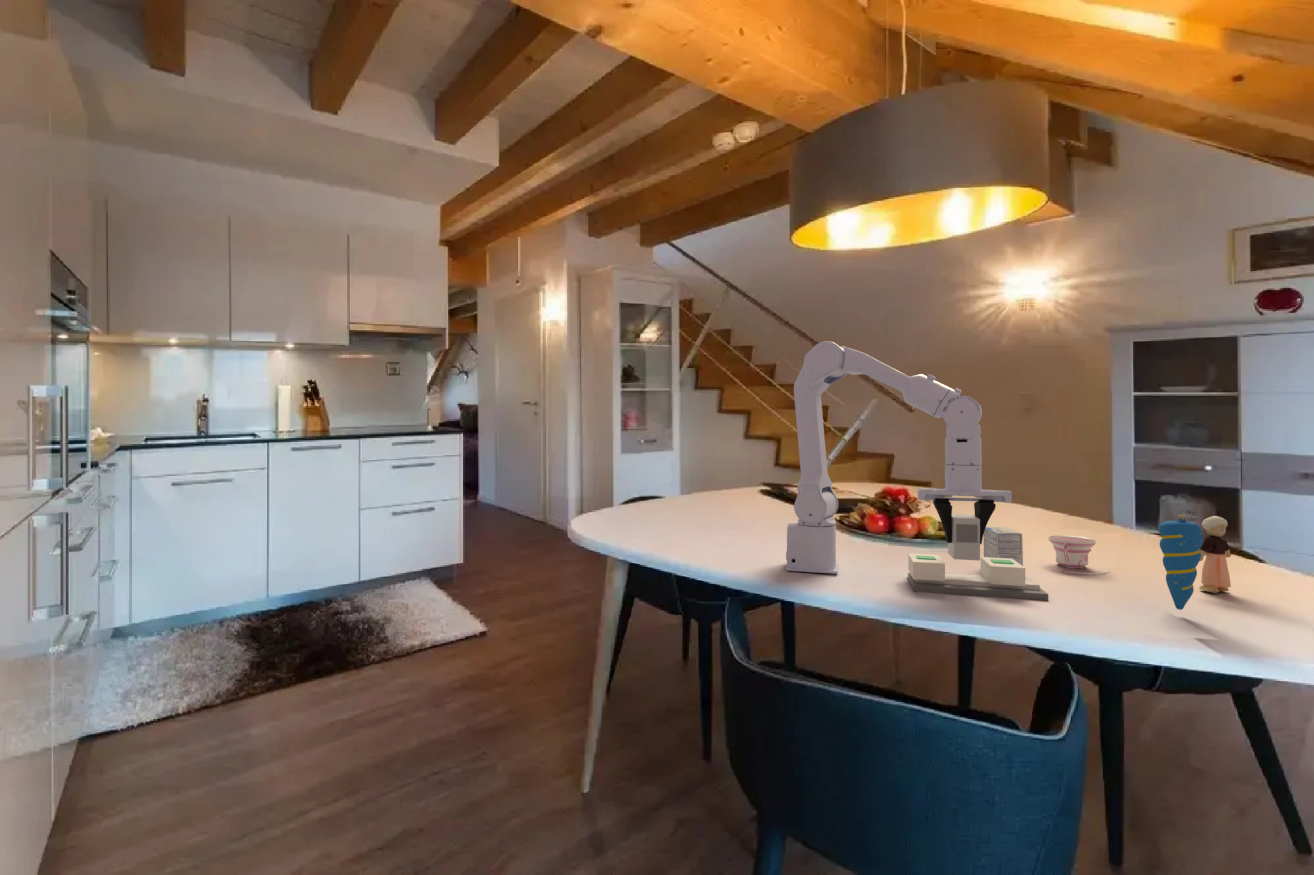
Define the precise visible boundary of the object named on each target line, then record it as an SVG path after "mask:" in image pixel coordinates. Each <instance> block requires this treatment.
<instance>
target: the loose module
mask: <svg viewBox="0 0 1314 875" xmlns="http://www.w3.org/2000/svg"><path fill="white" fill-rule="evenodd" d="M951 528H952V543H947V554H948V555H949V556H951V558H952V559H953V560H958V561H959V560H962V561H980V562H981V544H980V519H979V518H977V517H976V516H975V514H963V513H962V514H961V513H959V514H957V513H952V518H951Z"/></svg>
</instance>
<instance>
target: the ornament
mask: <svg viewBox="0 0 1314 875" xmlns="http://www.w3.org/2000/svg"><path fill="white" fill-rule="evenodd" d="M1182 512H1183V515H1181V514H1179V515H1177V518H1178V520H1166V521H1163V522H1161V523H1160V524H1159V526H1158V532H1159V535H1160V537H1161V538H1160V541H1159V548H1160V550H1161V553H1162V554H1163V557H1162V565H1163V567H1164V569H1165V571H1166V574H1165V582H1166V585H1167V587H1168V590H1169V593H1170V595H1171V598H1172V601H1173V605H1174V606H1175V608H1176V609H1177V610H1179V611H1182V610H1184V608H1185V606H1186V604H1187V603H1188V602H1189V601H1190V599H1191V597H1193V596H1192V595H1193V594H1194V583H1195V581H1196V577H1197V576H1198V570H1197V566H1198V564H1199V563H1200V562H1201V561H1200V558H1201V553H1200V548H1201V546H1202V544H1203V540H1204V539H1205V537H1204V534H1203V530H1202V528H1201V527H1200V525H1199V524H1198V523H1197V522H1192V521H1187V515H1185V514H1186V513H1185V511H1183V510H1182Z"/></svg>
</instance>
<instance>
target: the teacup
mask: <svg viewBox="0 0 1314 875" xmlns="http://www.w3.org/2000/svg"><path fill="white" fill-rule="evenodd" d="M1048 541H1049V542H1050V543H1051V544H1052V545H1053V546H1052V548H1053V550H1054V551H1055V562H1056V563H1058V565H1060V566H1061V567H1064V568H1068V569H1074V568H1081V569H1083V568H1084V567H1085V566H1086V567H1087V566H1088V565H1089V554H1090V552H1092V549H1091V548H1092V547H1094V546H1095V545H1096V543H1097V542H1096V541H1097V540H1096V539H1094V538H1091V537H1086V536H1078V535H1066V534H1065V535H1062V534H1059V535H1057V534H1056V535H1050V536H1048ZM1103 568H1104V569H1105V568H1107V567H1105V566H1103ZM1048 569H1049V570H1051V571H1052V570H1053V571H1058V572H1062V573H1066V572H1068V574H1074V573H1076V574H1075V575H1084V574H1085V576H1087V575H1105V574H1109V573H1111V570H1110V569H1109V568H1108V570H1106V571H1105V573H1104V572H1076V571H1070V570H1069V571H1068V570H1067V571H1066V570H1060V569H1055V568H1049V567H1048ZM1086 574H1087V575H1086Z"/></svg>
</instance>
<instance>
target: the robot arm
mask: <svg viewBox="0 0 1314 875" xmlns="http://www.w3.org/2000/svg"><path fill="white" fill-rule="evenodd" d="M803 360H804V361H803V365H802V366H801V369H800V371H799V373H798V375H797V377H796V380H795V382H794V385H793V397H794V408H795V419H796V430H797V433H796V434H797V443H798V444H797V445H798V454H799V456H798V458H799V465H800V467H799V468H800V477H799V481H798V484H797V495H796V499H795V501H794V513H795V515H796V517H797V518H798V519H797V522H796V523H795V522H792V523H788V524H787V527H786V528H787V529H786V551H785V557H786V558H785V560H786V571H787V572H788V571H789V572H803V573H820V574H838V573H839V563H837V558H836V557H837V545H836V544H837V542H836V540H837V525H836V522H837V521H836V520H835V518H834V516H835V514H836V513H837V512H838V509H839V500H838V497H837V495H836V494H835V492H834V490H833V483H832V480H831V478H830V476H829V473H828V464H827V463H828V461H827V452H826V451H827V450H826V442H825V441H826V440H825V438H826V437H825V430H824V428H825V427H824V418H823V405H822V394H823V393H824V392H825V391H827V389H829V387H830V386H831V385H832V384H834V383H835V382H836V381H838V380H841V379H842V378H844V377H846V376H847V375H848V374H849V375H851V376H858V375H859V376H860V375H866V376H868V377H869V378H872V379H874V380H876V381H878V382H880V383H882V384H885V385H887V386H888V387H891V388H893V389H895V390H897V391H900V392H901V394H902V398H903V401H904V403H906V404H908V405H910V406H912V407H913V408H916V409H918V410H920V411H922V412H924V413H925V414H928V415H930V416H932V417H934V418H936V419H939V418H943V420H944V423H945V424H946V426H945V427H946V428H945V430H946V433H945V434H946V437H945V438H944V488H917V500H918V501H932V504H933V506H934V508H935V510H936V512H937V515H938V516H939V520H940V522H941V525H942V527H943V532H944V536H945V537H944V538H945V542H946V543H947V544H948V543H952V528H951V518H952V514H953V505H951V504H952V503H951V502H956V501H957V502H974V503H973V507H974V508H973V509H974V516H976V517H977V518H979V519H980V545H982V544H983V539H984V531H985V528H986V527H987V525H988V522H989V520H990V519H991V516H992V515H993V514H994V512H995V510H996V506H997V504H996V503H1004V504H1005V503H1006V504H1007V503H1008V504H1009V503H1012V500H1013V498H1012V497H1013V496H1012V490H1011V491H1010V490H1002V489H1001V490H999V489H997V490H996V489H982V488H983V485H982V484H983V483H982V482H983V480H982V479H983V478H982V477H983V476H982V471H983V467H982V466H983V465H982V463H983V460H982V454H983V453H982V450H983V449H982V441H983V440H982V437H981V434H982V428H981V424H979V422H980V421H981V419H982V416H983V410H982V406H981V404H980V403H979V402H978V401H977V400H976V399H974V397H973V398H972V397H971V396H967V395H961V393H962V389H959V388H958V387H955V389H954V388H951V387H950V386H947V385H946V384H943V383H942V382H939V381H937V380H936V379H937V377H936V376H934V375H933V374H930V373H928V374H927V375H925V374H923V373H920V374H915V375H912V376H909V375H907V374H906V373H903V372H901V371H899V370H897V369H896V368H894V367H892V366H890V365H888V364H886V363H884V362H882V361H880V360H879V359H876V358H874V357H873V356H872V355H871V356H870V354H867V353H865V352H861V351H859V350H856V349H853V348H850V347H847V346H844V345H842V346H839V344H837V343H835V342H834V341H829V340H824V341H821V342H818V343H816V344H815V345H814V346H813V347H812V348H811V349H810V350H809V351H807V353H806V354H805V355H804V358H803ZM953 496H954V497H953Z"/></svg>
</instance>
